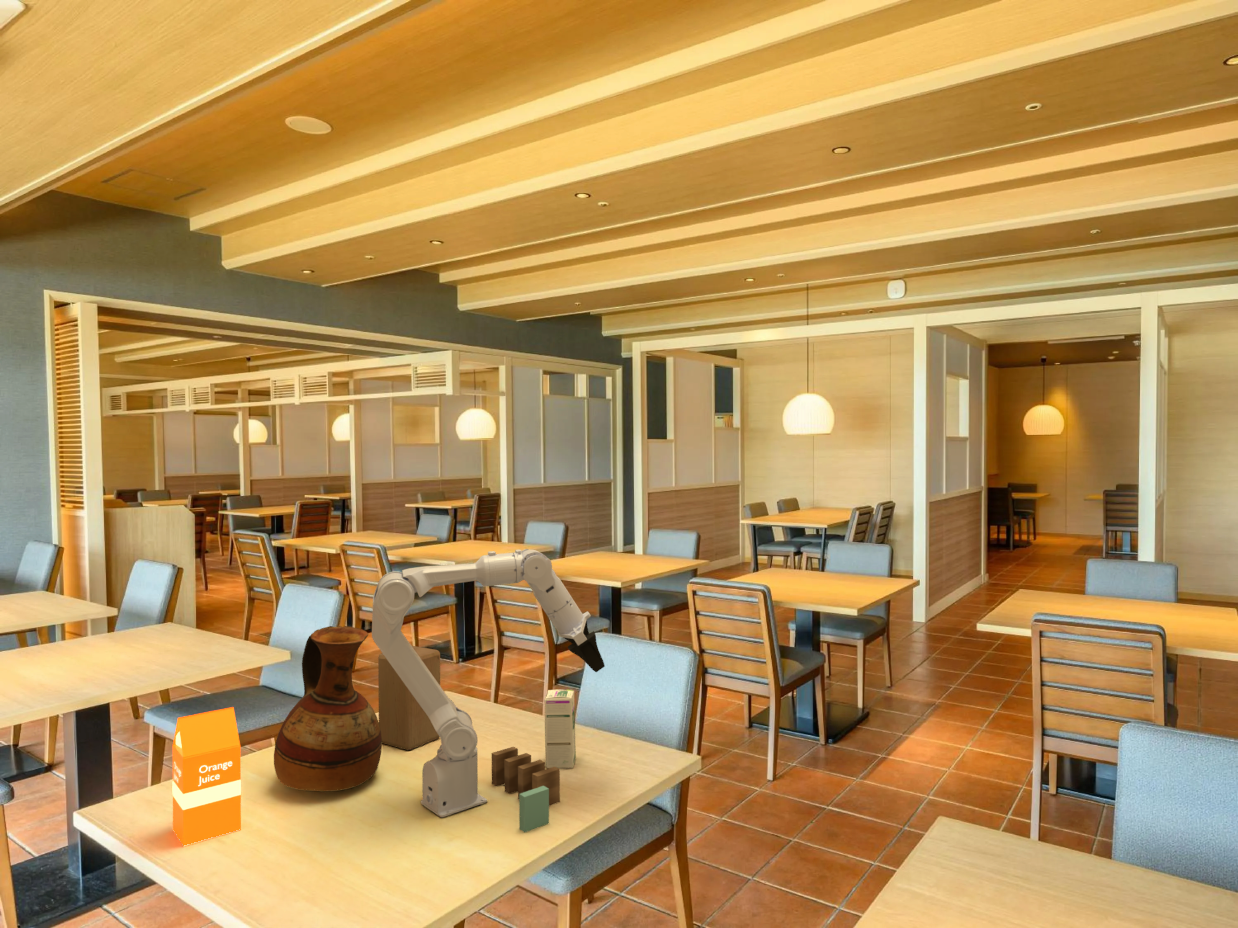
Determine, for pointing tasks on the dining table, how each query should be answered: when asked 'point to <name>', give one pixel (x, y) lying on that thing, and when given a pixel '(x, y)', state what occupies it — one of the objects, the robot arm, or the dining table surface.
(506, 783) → the domino
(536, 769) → the domino
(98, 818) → the dining table surface
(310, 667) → the ceramic pitcher
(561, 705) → the syrup box
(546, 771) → the domino
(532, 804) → the green domino
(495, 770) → the domino
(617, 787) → the dining table surface
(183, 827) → the orange juice
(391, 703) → the wooden block
